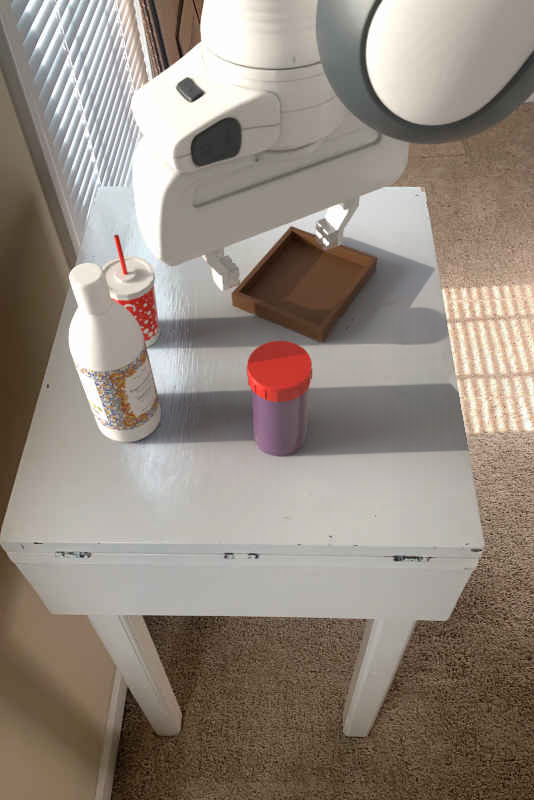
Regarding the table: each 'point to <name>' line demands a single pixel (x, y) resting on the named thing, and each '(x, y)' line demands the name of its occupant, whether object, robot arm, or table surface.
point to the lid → (279, 371)
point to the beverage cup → (134, 290)
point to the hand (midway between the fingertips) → (278, 263)
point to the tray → (304, 284)
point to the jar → (279, 424)
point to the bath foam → (111, 359)
